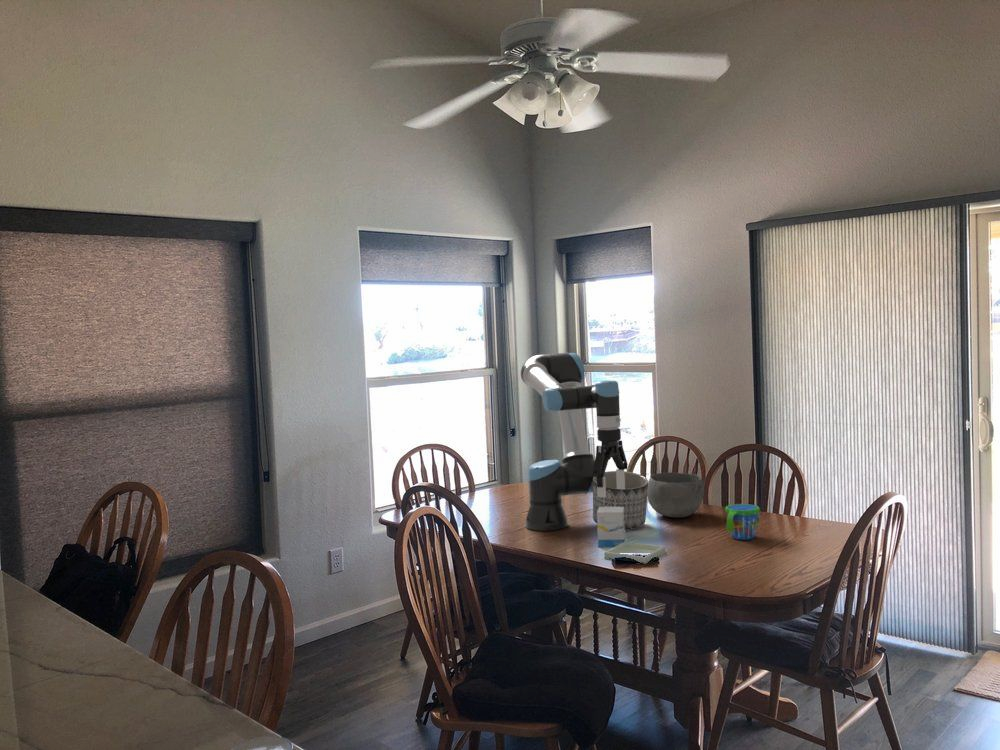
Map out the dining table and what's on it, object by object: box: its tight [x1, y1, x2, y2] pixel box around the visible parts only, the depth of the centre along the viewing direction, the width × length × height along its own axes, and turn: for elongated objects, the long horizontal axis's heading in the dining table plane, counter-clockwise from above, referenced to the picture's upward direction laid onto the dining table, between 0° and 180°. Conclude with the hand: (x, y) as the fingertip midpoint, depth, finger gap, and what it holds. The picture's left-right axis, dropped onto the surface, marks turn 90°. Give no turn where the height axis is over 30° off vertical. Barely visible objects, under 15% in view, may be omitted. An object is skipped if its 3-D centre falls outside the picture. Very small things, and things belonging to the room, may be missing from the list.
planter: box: [592, 470, 649, 531], centre depth 291 cm, size 19×19×16 cm
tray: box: [603, 540, 667, 565], centre depth 255 cm, size 14×14×2 cm
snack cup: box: [725, 503, 761, 541], centre depth 269 cm, size 16×10×10 cm
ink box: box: [596, 507, 626, 548], centre depth 270 cm, size 8×8×12 cm
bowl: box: [647, 472, 705, 519], centre depth 303 cm, size 20×20×15 cm
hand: (611, 493), depth 269 cm, fingers open, 13 cm apart
